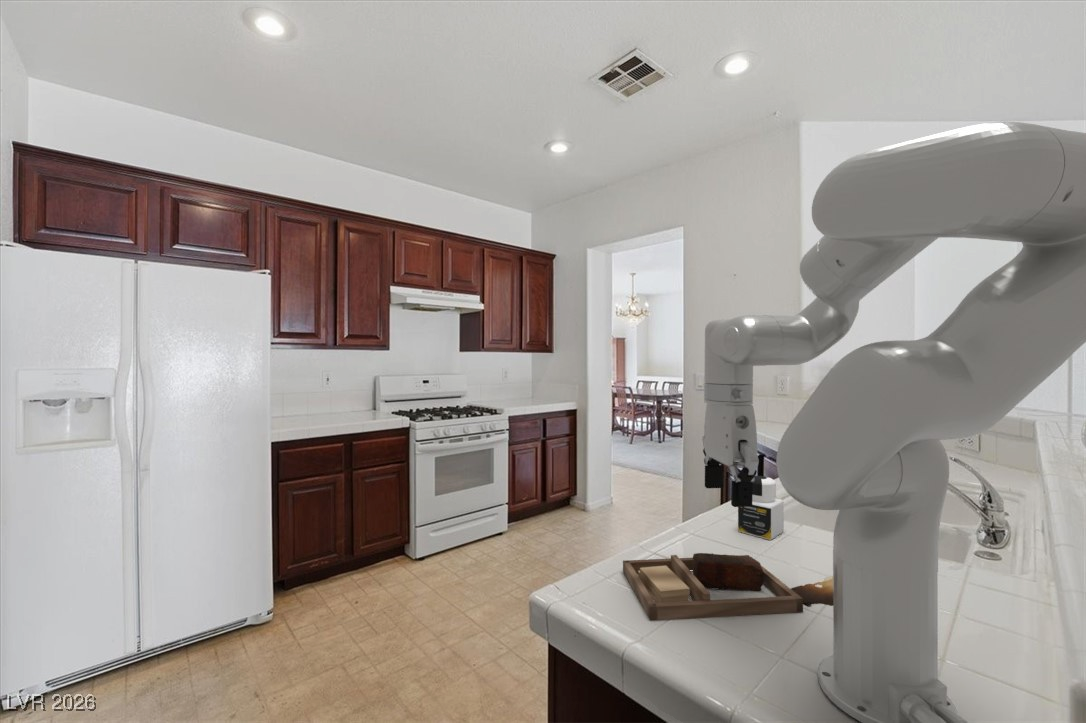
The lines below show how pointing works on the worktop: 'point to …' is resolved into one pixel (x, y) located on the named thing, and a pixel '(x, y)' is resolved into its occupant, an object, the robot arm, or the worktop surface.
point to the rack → (708, 594)
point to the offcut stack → (663, 584)
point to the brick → (728, 571)
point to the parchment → (816, 592)
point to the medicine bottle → (762, 511)
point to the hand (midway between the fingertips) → (726, 496)
